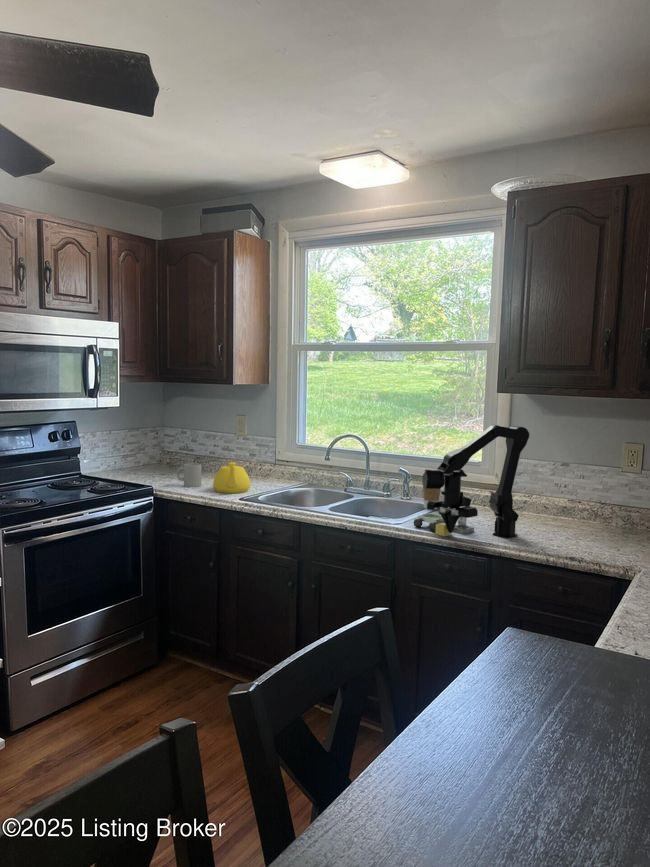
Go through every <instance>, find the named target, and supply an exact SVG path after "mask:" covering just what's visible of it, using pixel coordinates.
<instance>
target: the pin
mask: <svg viewBox="0 0 650 867" xmlns="http://www.w3.org/2000/svg"><path fill="white" fill-rule="evenodd" d="M467 519H468V518H465V517H460V518H459V519H458V520H457V525H458V528H462V529H464V528H466V526H467Z"/></svg>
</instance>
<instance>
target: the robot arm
mask: <svg viewBox="0 0 650 867" xmlns="http://www.w3.org/2000/svg"><path fill="white" fill-rule="evenodd" d="M498 437H501V438H505V445H506V452H505V458H504V463H503V467H502V471H501V475H500V478H499V483H498V488H497V490H495V492H494V491H491V492H490V498H489V500H488V503H489V508H490V510H492V512H493V513H494V516H495V520H494V532H493V533H492V535H493V536H497V537H501V538H505V539H511V538H514V537H518V533H516V525H517V524H516V523H517V521H518V519H519V514H518V513H517V512H516V511H515V510H514V509H513V507H514V506H513V505H514V504H513V503H514V498H513V492H512V491H513V486H514V482H515V477H516V473H517V469H518V467H519V466H518V465H519V461H520V457H521V453H522V451H523V450H524V449H525V447H526V446H527V443H528V441H529V439H530V432H529V430H528V429H527V428H526V427H524V426H518V425H511V426H510V427H507V426H500V425H498V424H491V425H489V426H488V427H487V429H485V430H484V431H482V432H481V433H480V434H478V435H477V436H476V437H474V438H473V439H472V440H470V441H469V442H467V443H466V444H465V445H463V446H461V447H459V448H457V449H454V450H452V451H450V452H447V453H446V454H445V455H444V456H443V460H442V462H441V464H440V465H439V466H438V467H437V469H428V468H427V469H424V473H423V474H424V475H423V474H422V477H423V478H422V477H421V480H422V489H423V488H424V489H440V490H442V488H443V490H442V491H441V495H443V500H441V499H439V500H432V501H429V502H428V503H427V509H426V510H431V511H434V510H436V509H435V508H438V509H439V512H438V515H440V516H442V518H443V520H444V522H445V524H446V527H447V529H448V531H449V533H451V534H452V533H453V530H454V527H455V525H457V523H458V519H459V518H460V517H465V518H467V519H468V518H473V517H478V515H479V514H478V512H479V511H478V509H477V507H473V506H471V504H472V498H469V497H466V496H464V492H463V491H461V490H462V489H461V487H462V477H465V478H466V477H467V476H468V474H467V473H466V472H465V471H464V470H463V468H464V467H465V465H467V464H468V462H469V460H470V459H471V458H472V456H474V455H475V454H477V453H478V452H479V451H481V450H483V448H485V447H486V446H487V445H489V444H490V443H491V442H492V441H494V440H495V439H497V438H498Z"/></svg>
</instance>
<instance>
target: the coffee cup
mask: <svg viewBox="0 0 650 867" xmlns="http://www.w3.org/2000/svg"><path fill="white" fill-rule="evenodd" d="M423 475H424V473H423V474H422V477H421V479H422V478H423ZM422 490H423V491H422V492H423V495H422V496H423V508H424V509H426V510H428V509H427V503H428V502H429V501H432V500H440V496H441V489H424V488H423V487H422ZM438 509H439V508H435V509H434V510H438Z"/></svg>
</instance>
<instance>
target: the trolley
mask: <svg viewBox="0 0 650 867" xmlns="http://www.w3.org/2000/svg"><path fill="white" fill-rule="evenodd" d="M423 522H424V523H429V524H428V529H429V531H430V532H431V531H433V532H436V524H440V523H445V522H444V520H443V518H442V516H441V515H440V514H435V513H424V514H418V516H417V518H415V519H414V520H413V526H414V527H415V526H416V527H415V528H417V527H418V528H422V527H423ZM421 526H422V527H421ZM433 532H432V533H433Z"/></svg>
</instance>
